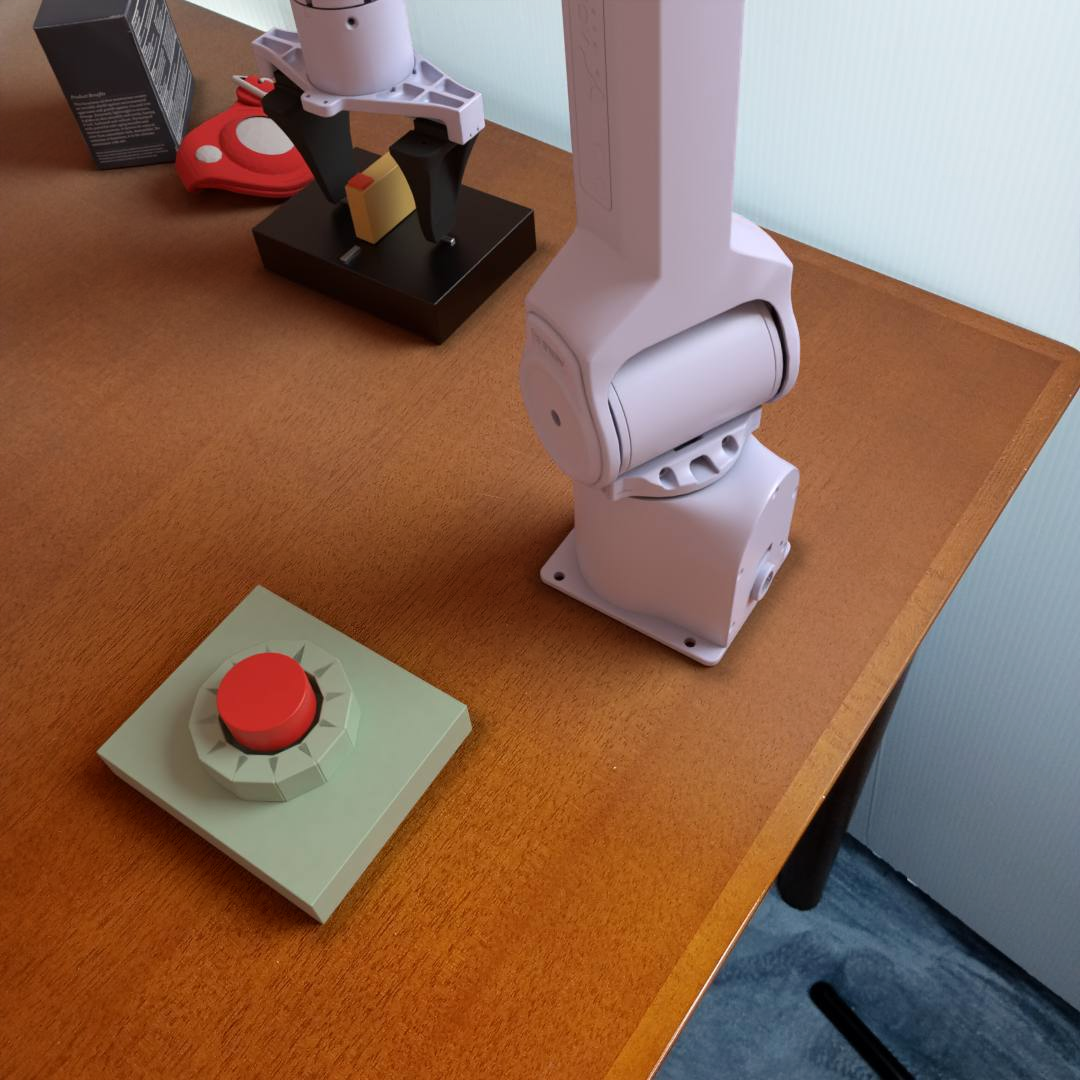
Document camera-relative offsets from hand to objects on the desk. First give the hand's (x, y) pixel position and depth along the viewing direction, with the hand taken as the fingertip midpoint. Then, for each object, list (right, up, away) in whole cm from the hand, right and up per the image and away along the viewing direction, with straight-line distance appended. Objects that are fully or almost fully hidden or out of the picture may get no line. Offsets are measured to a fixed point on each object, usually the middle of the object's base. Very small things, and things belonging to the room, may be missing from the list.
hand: (390, 213), depth 64 cm
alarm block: (-2, -29, -18) cm, 34 cm away
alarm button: (-2, -27, -20) cm, 34 cm away
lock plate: (0, -2, +3) cm, 3 cm away
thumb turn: (0, 0, 0) cm, 0 cm away
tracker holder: (-10, +7, +10) cm, 16 cm away
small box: (-20, +11, +14) cm, 26 cm away
